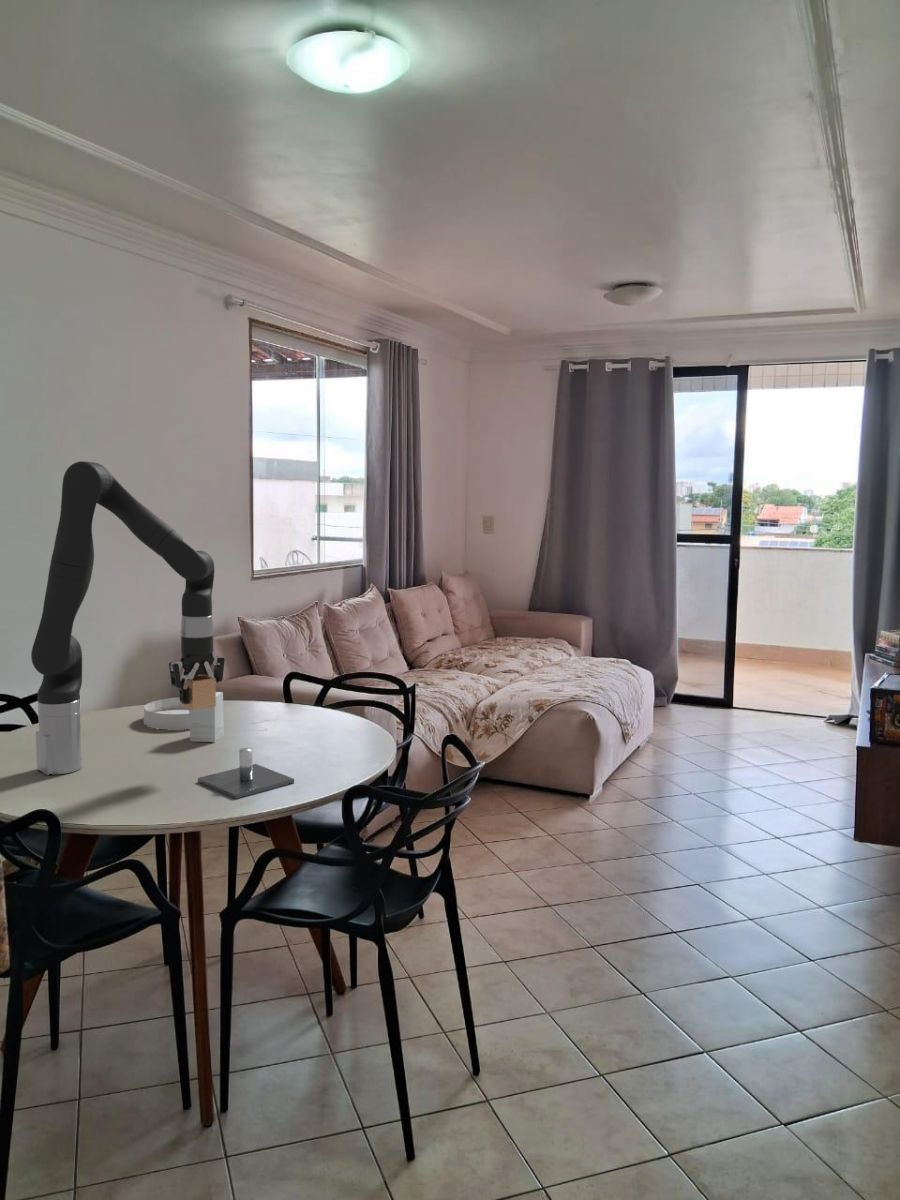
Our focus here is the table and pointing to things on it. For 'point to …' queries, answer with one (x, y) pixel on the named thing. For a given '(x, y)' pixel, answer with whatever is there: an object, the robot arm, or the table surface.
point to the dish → (166, 715)
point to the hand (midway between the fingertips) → (197, 701)
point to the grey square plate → (245, 778)
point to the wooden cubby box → (201, 693)
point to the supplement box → (207, 722)
